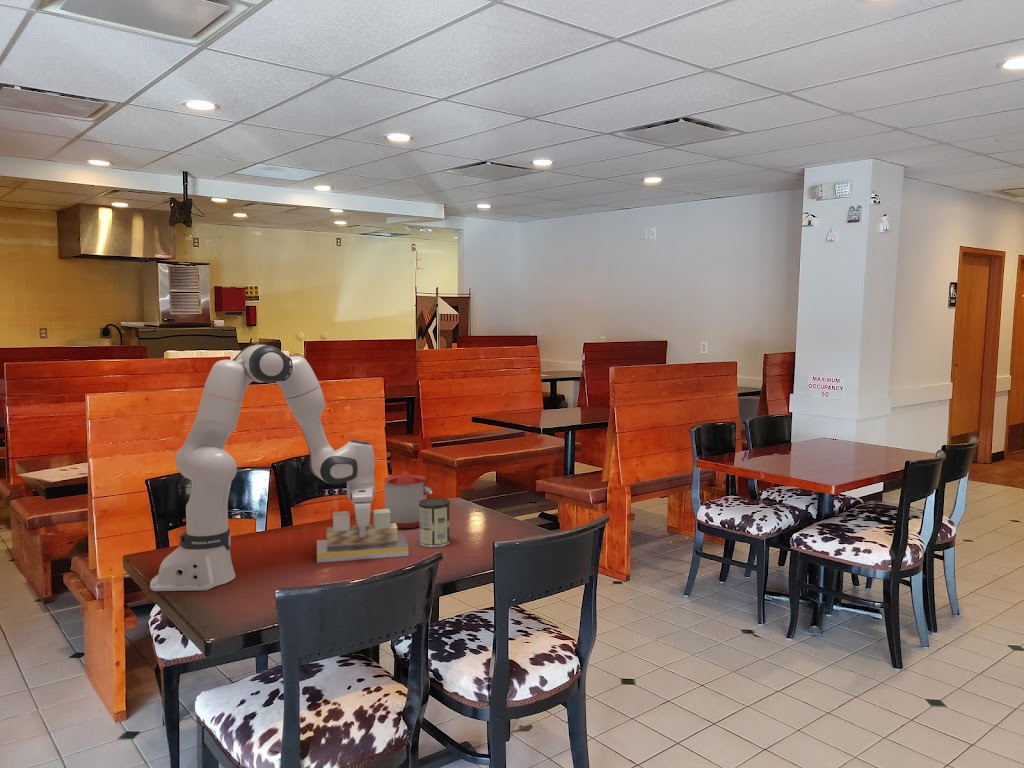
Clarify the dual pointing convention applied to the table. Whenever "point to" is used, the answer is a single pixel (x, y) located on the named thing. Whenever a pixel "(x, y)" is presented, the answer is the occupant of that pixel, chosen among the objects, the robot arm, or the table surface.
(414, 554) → the table surface
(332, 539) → the checkered beige brown block
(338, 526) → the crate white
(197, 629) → the table surface
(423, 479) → the citrus juicer
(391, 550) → the dock
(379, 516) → the pale green cube
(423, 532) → the coffee can
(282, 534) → the table surface
